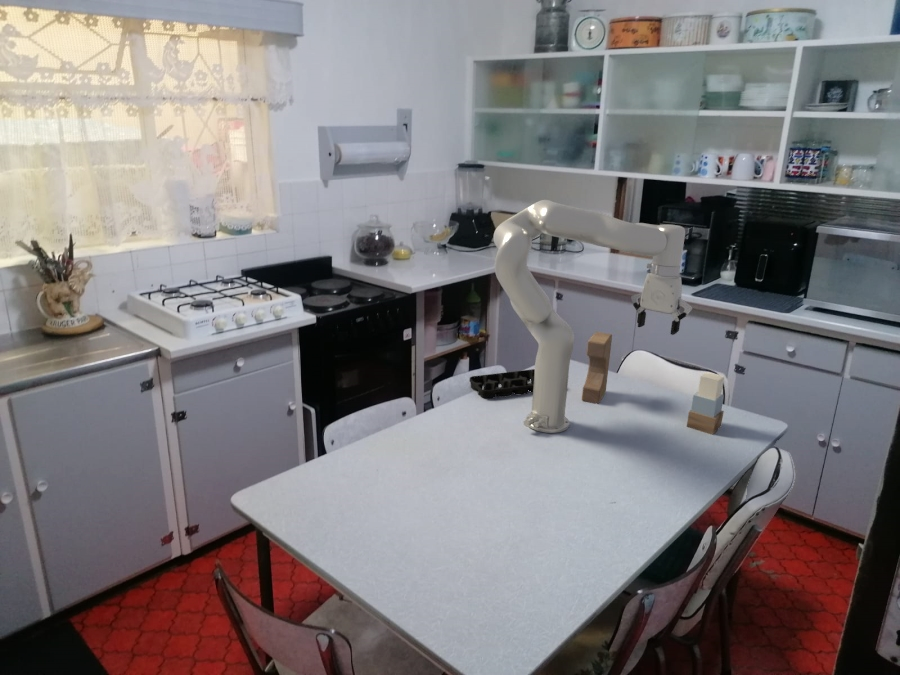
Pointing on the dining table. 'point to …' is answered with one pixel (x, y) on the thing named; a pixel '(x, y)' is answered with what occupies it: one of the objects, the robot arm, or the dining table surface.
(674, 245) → the robot arm
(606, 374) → the decorative block
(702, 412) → the tower top
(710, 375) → the cream block
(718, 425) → the tower base
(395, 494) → the dining table surface
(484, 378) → the egg carton
